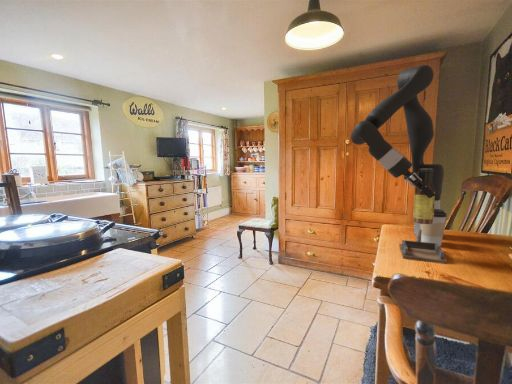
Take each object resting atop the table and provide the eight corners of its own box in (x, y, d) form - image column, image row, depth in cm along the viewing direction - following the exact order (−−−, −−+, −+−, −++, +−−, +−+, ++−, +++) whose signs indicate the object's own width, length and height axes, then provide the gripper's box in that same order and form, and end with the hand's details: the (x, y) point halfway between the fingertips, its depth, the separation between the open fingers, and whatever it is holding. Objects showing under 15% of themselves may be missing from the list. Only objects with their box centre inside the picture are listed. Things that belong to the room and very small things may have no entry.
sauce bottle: (436, 225, 88) (441, 169, 85) (416, 224, 89) (421, 169, 86) (427, 220, 94) (432, 168, 91) (409, 220, 95) (413, 168, 93)
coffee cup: (418, 239, 111) (420, 206, 109) (443, 242, 106) (446, 208, 104) (418, 244, 104) (420, 209, 102) (445, 248, 99) (447, 211, 97)
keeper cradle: (399, 246, 103) (400, 227, 102) (437, 250, 98) (438, 230, 97) (403, 258, 91) (404, 237, 90) (446, 263, 85) (448, 241, 84)
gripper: (405, 155, 85) (445, 190, 82) (401, 155, 98) (435, 186, 95) (387, 170, 88) (424, 205, 85) (385, 169, 101) (417, 199, 98)
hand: (430, 195), depth 90 cm, fingers closed on sauce bottle, 6 cm apart
